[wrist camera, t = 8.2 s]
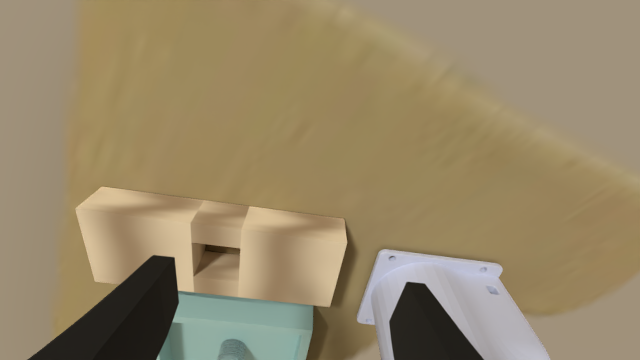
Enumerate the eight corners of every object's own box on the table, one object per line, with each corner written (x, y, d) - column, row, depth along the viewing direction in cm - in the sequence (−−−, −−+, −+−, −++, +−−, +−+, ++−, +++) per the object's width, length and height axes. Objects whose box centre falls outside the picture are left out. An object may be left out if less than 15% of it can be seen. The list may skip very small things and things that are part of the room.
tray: (313, 302, 25) (312, 330, 23) (294, 383, 31) (292, 412, 29) (158, 285, 24) (143, 313, 22) (170, 372, 30) (158, 401, 28)
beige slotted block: (344, 218, 21) (347, 243, 19) (328, 279, 24) (329, 307, 22) (101, 186, 20) (75, 208, 18) (116, 255, 23) (95, 281, 21)
